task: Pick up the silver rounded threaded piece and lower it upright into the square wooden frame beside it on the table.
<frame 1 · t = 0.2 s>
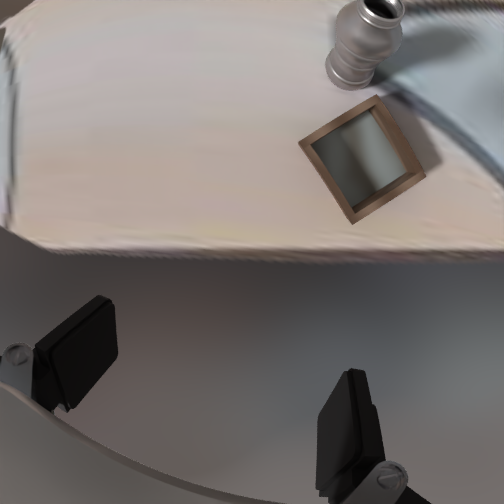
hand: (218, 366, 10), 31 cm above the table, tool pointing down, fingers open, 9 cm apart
silver rounded threaded piece: (346, 73, 31), on the table
square wooden frame: (359, 158, 35), on the table
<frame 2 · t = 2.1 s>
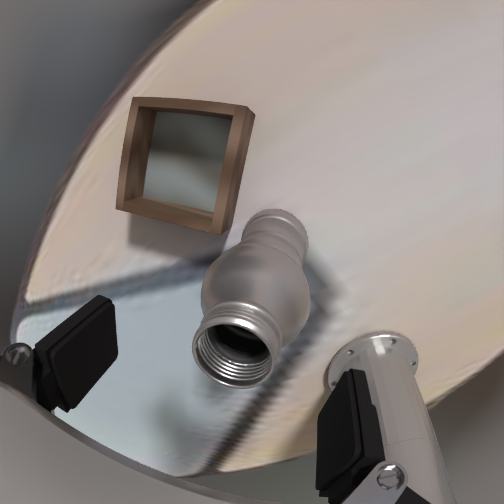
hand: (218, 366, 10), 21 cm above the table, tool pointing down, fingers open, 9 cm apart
silver rounded threaded piece: (277, 236, 30), on the table
square wooden frame: (190, 160, 29), on the table
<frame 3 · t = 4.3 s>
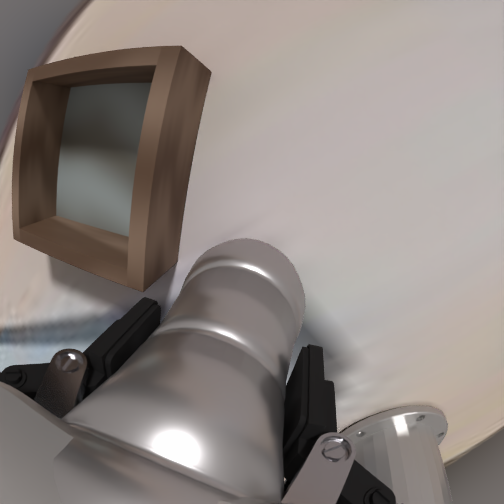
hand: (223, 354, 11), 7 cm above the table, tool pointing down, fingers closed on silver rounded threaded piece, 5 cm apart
silver rounded threaded piece: (253, 281, 17), on the table, touching gripper
square wooden frame: (111, 156, 16), on the table
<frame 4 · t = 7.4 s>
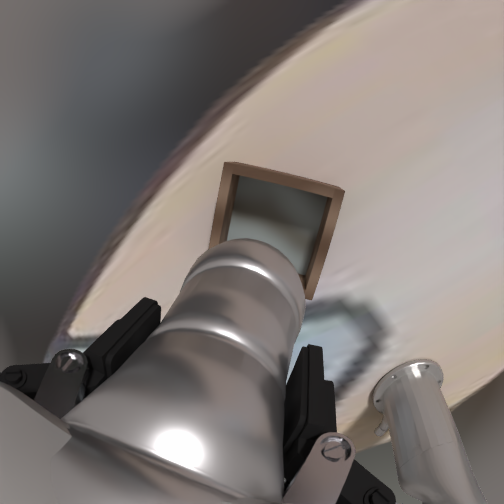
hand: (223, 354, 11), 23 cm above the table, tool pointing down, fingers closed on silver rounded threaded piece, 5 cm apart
silver rounded threaded piece: (252, 281, 17), point 16 cm above the table, touching gripper
square wooden frame: (274, 224, 32), on the table
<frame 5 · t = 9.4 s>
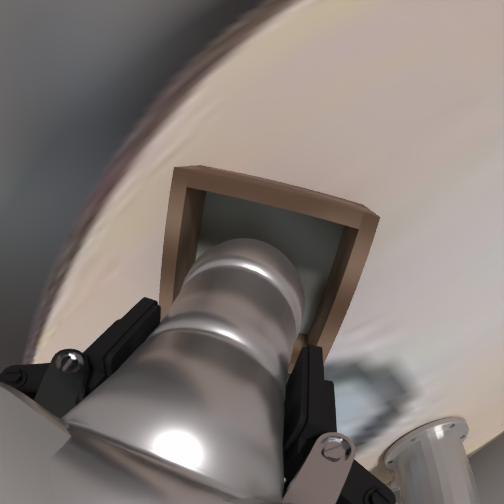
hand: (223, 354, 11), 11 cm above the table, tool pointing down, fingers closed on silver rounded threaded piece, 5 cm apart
silver rounded threaded piece: (252, 281, 17), point 4 cm above the table, touching gripper
square wooden frame: (262, 261, 21), on the table
when the fingers open (9 cm above the table, at t = 10.8 s): silver rounded threaded piece drops 1 cm, resting on square wooden frame.
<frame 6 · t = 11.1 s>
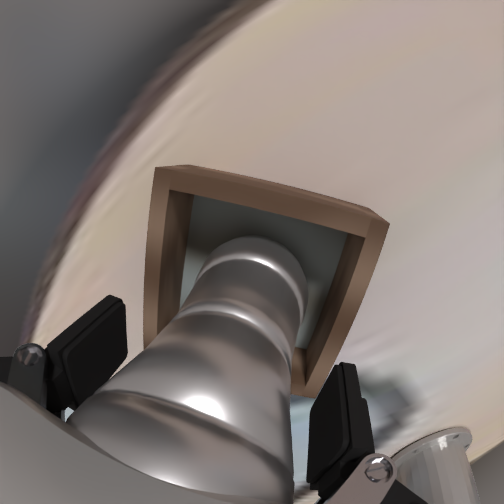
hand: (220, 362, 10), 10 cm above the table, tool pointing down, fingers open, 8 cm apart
silver rounded threaded piece: (259, 275, 19), resting on square wooden frame
square wooden frame: (257, 270, 19), on the table
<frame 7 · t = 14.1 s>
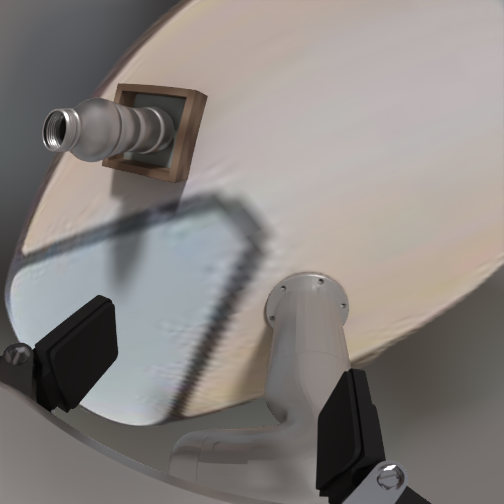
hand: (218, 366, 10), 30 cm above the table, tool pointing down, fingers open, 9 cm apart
silver rounded threaded piece: (159, 131, 36), resting on square wooden frame
square wooden frame: (159, 130, 36), on the table
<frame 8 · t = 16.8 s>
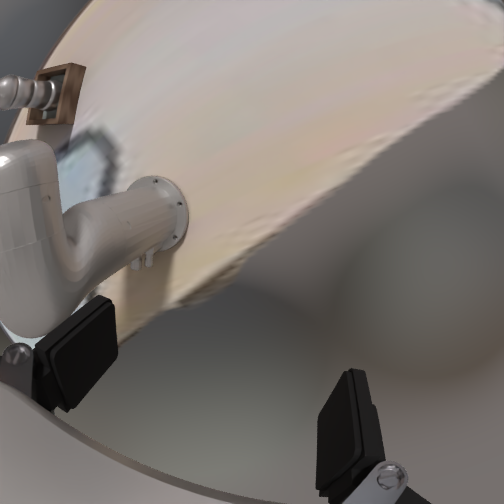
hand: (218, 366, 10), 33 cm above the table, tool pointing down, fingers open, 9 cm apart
silver rounded threaded piece: (60, 97, 40), resting on square wooden frame
square wooden frame: (60, 96, 40), on the table
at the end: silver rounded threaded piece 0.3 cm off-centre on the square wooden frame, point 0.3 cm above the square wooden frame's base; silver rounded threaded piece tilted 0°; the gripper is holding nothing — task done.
